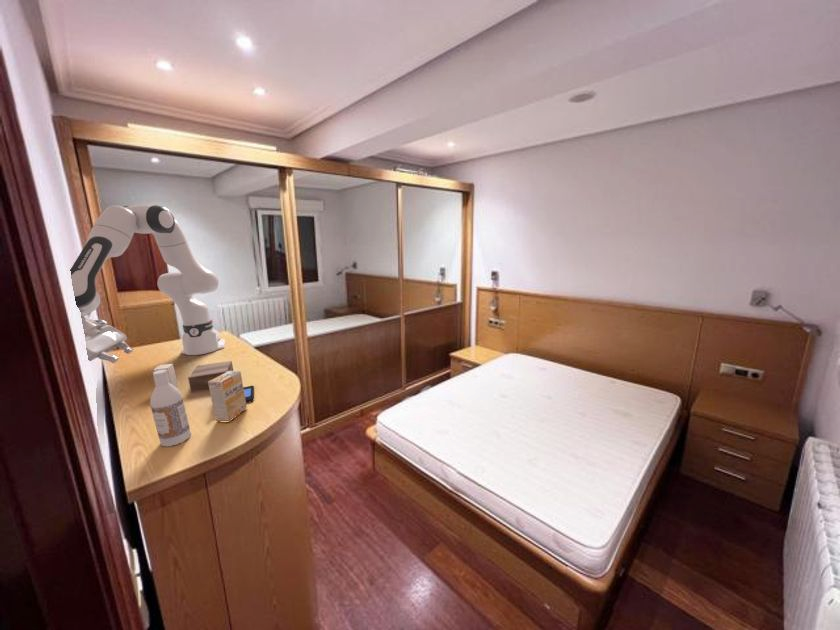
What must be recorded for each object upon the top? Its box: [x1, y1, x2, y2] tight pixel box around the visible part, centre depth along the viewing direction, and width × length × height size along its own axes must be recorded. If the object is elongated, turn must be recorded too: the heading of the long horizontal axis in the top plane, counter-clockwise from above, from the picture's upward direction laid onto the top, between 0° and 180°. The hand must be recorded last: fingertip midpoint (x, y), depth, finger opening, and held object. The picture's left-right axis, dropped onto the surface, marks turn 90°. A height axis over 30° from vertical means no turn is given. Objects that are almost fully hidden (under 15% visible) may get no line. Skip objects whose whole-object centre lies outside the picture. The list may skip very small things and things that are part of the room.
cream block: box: [152, 363, 179, 389], centre depth 126 cm, size 4×4×9 cm
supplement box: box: [208, 370, 248, 422], centre depth 105 cm, size 8×5×13 cm, turn 168°
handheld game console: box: [217, 376, 255, 403], centre depth 117 cm, size 12×11×7 cm
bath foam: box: [149, 370, 192, 447], centre depth 92 cm, size 7×7×20 cm
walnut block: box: [187, 360, 234, 394], centre depth 130 cm, size 12×12×6 cm
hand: (124, 356), depth 121 cm, fingers open, 8 cm apart
